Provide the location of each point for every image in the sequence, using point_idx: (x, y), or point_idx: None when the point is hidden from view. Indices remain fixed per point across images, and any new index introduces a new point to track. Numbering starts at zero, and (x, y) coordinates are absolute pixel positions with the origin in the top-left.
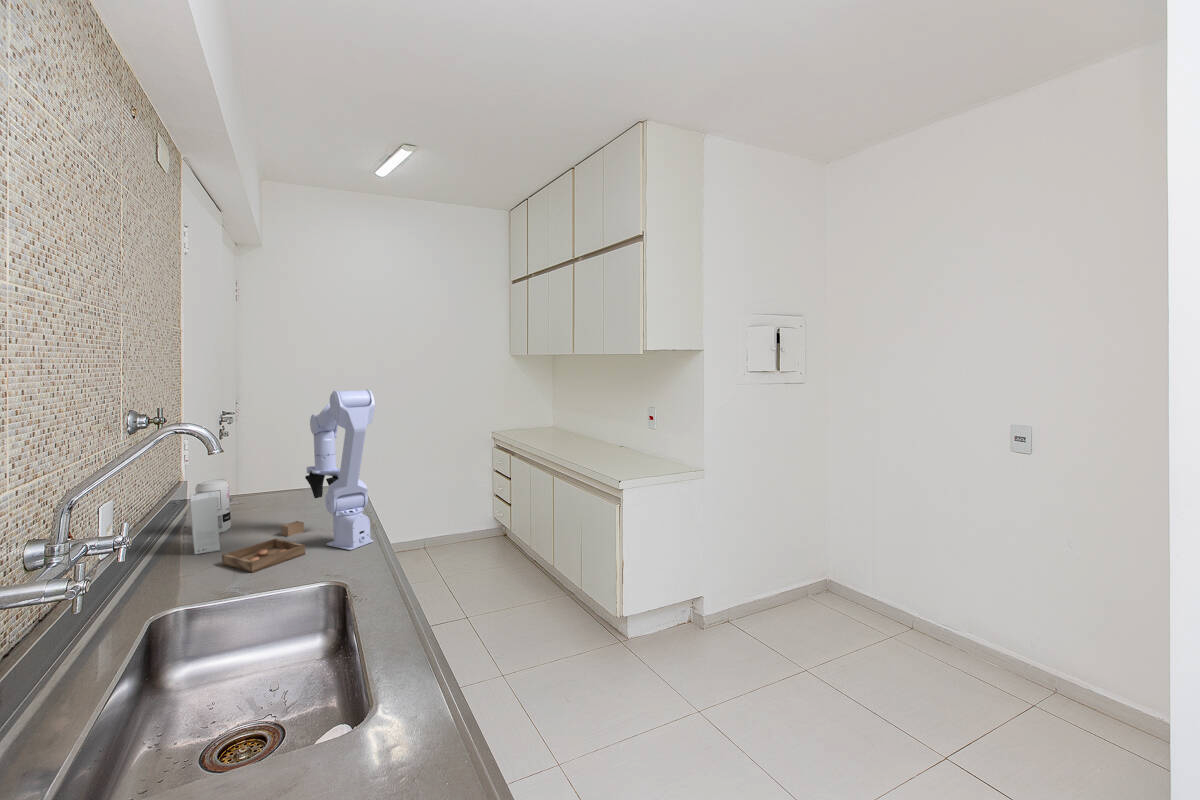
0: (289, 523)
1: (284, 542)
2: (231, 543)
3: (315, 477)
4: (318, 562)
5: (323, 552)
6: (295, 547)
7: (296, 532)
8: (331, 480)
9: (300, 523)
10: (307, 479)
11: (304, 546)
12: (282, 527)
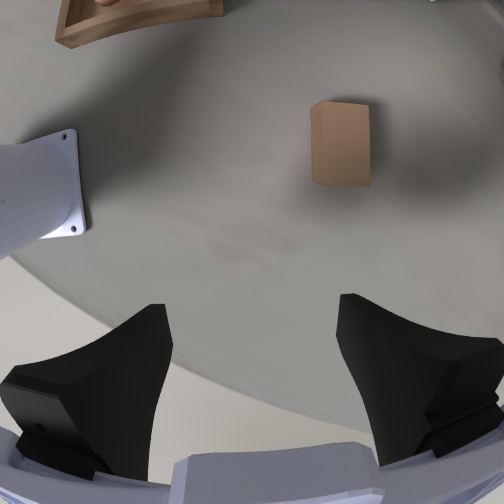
0: (366, 143)
1: (146, 3)
2: (401, 3)
3: (414, 414)
4: (6, 59)
5: (40, 94)
6: (64, 14)
7: (313, 145)
8: (7, 377)
9: (323, 167)
10: (469, 342)
11: (56, 40)
12: (357, 105)
